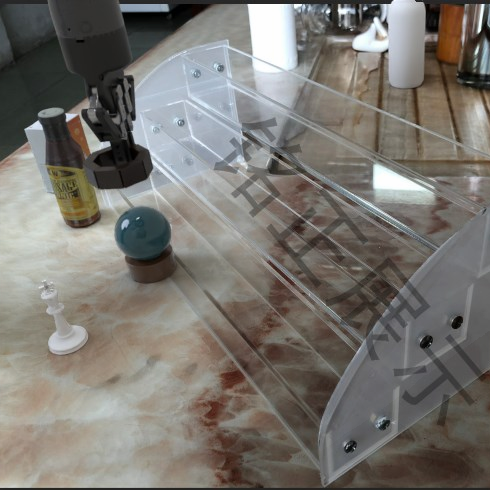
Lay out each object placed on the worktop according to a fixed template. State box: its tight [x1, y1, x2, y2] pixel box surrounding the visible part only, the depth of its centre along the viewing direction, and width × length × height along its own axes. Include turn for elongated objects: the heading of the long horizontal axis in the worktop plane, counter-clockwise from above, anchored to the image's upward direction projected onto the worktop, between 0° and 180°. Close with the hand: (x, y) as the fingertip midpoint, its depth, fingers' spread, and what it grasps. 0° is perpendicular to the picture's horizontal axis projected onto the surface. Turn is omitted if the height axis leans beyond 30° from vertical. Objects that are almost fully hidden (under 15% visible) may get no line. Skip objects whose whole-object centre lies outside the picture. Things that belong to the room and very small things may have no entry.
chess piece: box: [37, 279, 89, 356], centre depth 75 cm, size 5×5×10 cm
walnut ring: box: [83, 143, 154, 191], centre depth 74 cm, size 8×8×2 cm
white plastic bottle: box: [387, 0, 427, 90], centre depth 142 cm, size 9×9×30 cm
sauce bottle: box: [37, 107, 101, 228], centre depth 99 cm, size 6×6×20 cm
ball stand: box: [113, 205, 177, 284], centre depth 87 cm, size 8×8×10 cm
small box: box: [24, 112, 92, 194], centre depth 112 cm, size 8×6×13 cm
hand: (127, 162), depth 78 cm, fingers closed on walnut ring, 1 cm apart
